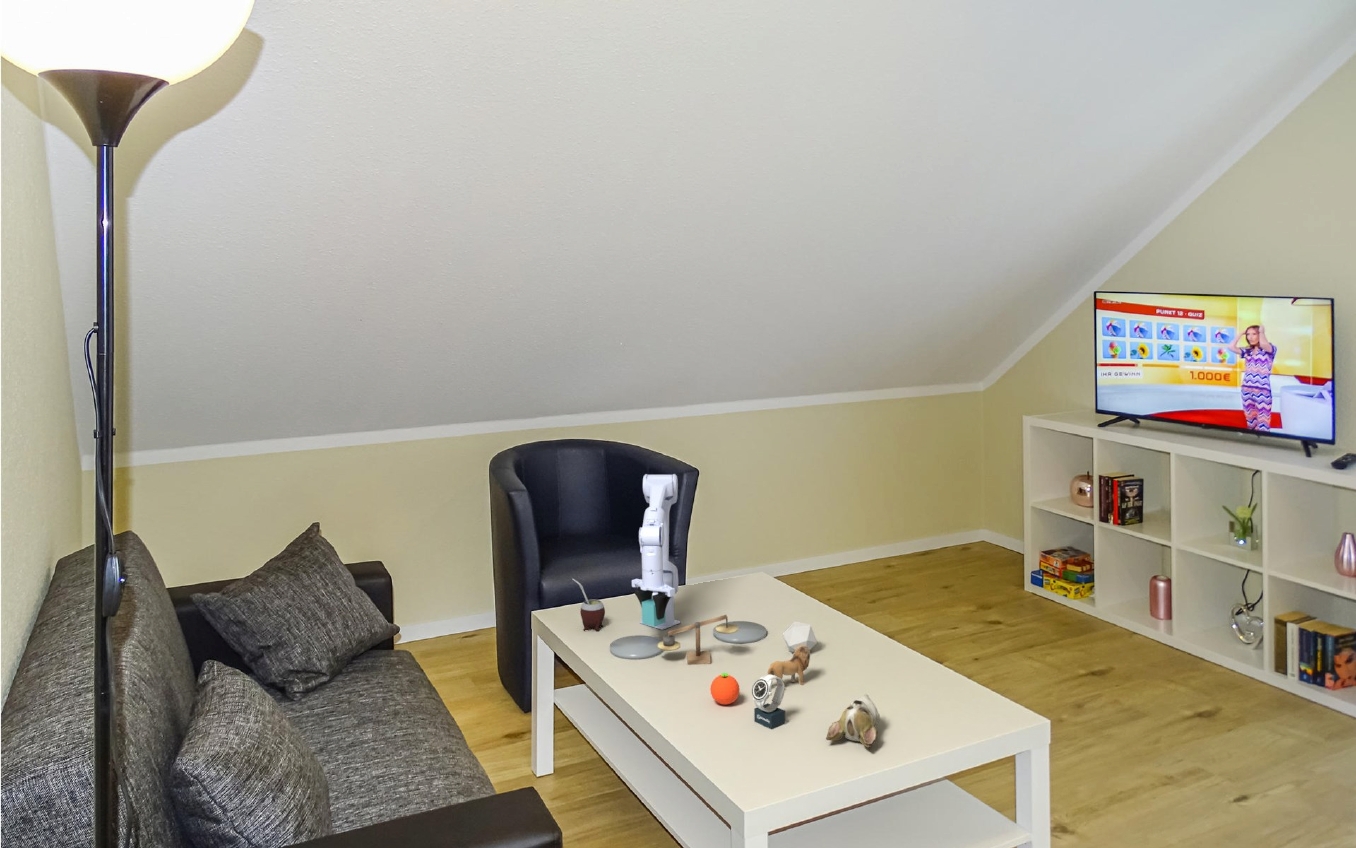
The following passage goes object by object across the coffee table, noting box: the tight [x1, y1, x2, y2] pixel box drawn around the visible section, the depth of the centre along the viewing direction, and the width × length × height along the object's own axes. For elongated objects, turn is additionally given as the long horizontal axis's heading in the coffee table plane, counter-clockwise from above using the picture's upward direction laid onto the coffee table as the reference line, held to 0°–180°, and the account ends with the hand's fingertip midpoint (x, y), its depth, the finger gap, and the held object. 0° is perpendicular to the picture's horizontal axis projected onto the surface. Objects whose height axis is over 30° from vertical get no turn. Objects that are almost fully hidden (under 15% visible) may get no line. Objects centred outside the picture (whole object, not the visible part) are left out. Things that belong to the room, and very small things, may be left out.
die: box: [782, 620, 818, 654], centre depth 274 cm, size 8×9×10 cm
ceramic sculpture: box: [825, 693, 881, 748], centre depth 222 cm, size 11×9×15 cm
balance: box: [658, 614, 738, 665], centre depth 269 cm, size 21×6×12 cm, turn 92°
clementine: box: [709, 672, 740, 705], centre depth 242 cm, size 8×7×7 cm
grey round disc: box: [712, 620, 767, 645], centre depth 288 cm, size 15×15×1 cm
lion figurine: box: [766, 645, 811, 690], centre depth 251 cm, size 15×5×9 cm, turn 128°
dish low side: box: [609, 634, 665, 660], centre depth 278 cm, size 15×15×1 cm
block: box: [641, 598, 666, 628], centre depth 278 cm, size 4×4×6 cm
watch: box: [751, 673, 786, 730], centre depth 230 cm, size 6×8×11 cm
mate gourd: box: [571, 578, 606, 633], centre depth 295 cm, size 8×8×15 cm
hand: (653, 616), depth 278 cm, fingers closed on block, 4 cm apart
